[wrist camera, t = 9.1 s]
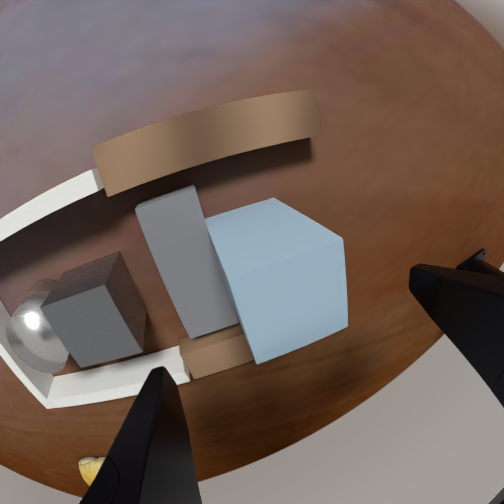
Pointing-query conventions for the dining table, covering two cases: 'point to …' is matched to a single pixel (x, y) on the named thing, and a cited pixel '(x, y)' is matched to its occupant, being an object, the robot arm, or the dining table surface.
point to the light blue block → (248, 270)
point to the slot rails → (198, 152)
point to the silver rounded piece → (36, 332)
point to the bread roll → (90, 468)
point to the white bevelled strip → (93, 380)
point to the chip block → (97, 311)
